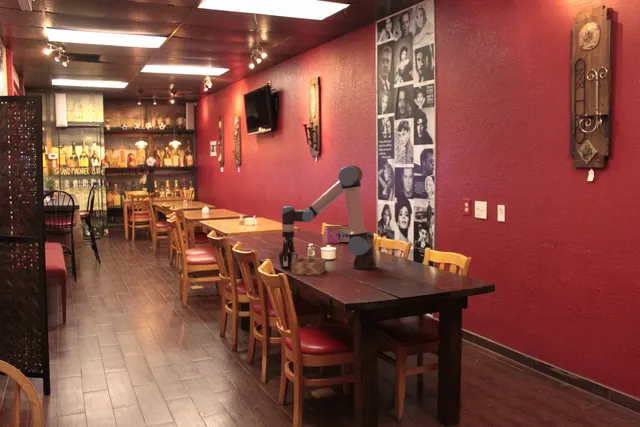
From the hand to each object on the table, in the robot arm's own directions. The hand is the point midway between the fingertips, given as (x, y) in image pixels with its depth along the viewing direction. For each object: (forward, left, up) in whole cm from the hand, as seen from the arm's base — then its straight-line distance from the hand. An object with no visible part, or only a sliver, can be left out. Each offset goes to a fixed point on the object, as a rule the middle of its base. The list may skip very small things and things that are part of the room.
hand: (288, 264), depth 373 cm
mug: (0, 0, -2) cm, 2 cm away
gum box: (-10, -117, -2) cm, 117 cm away
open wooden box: (-16, +11, -2) cm, 20 cm away
